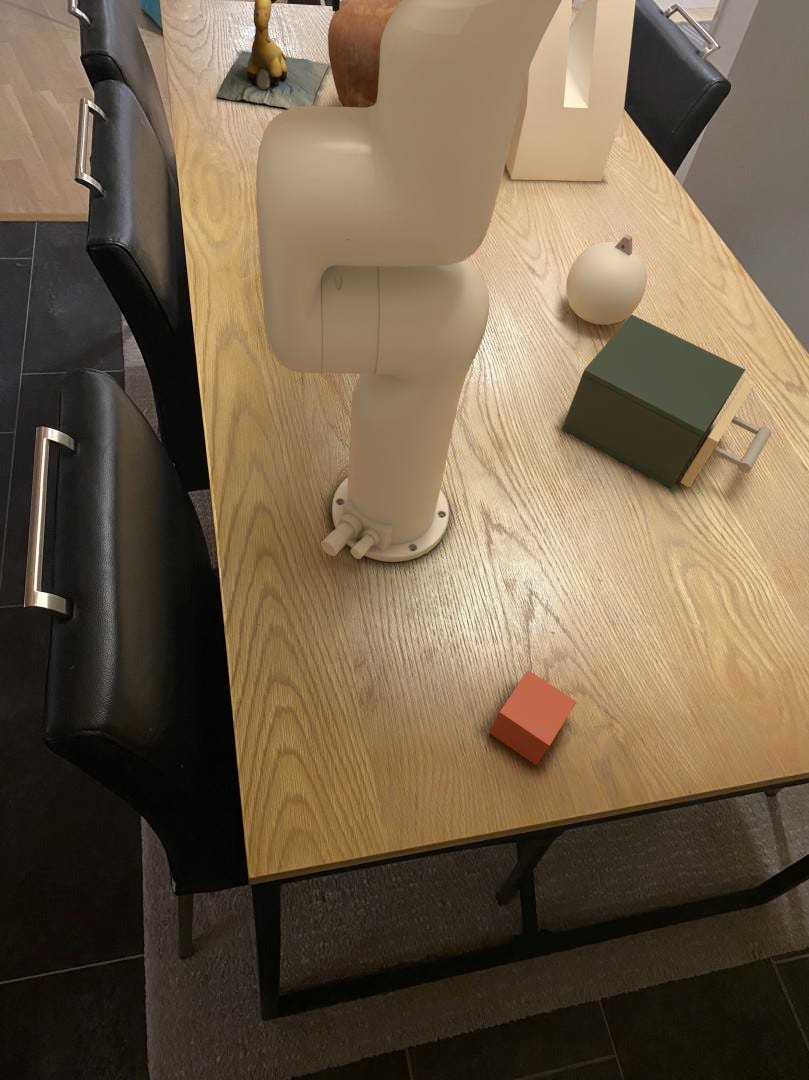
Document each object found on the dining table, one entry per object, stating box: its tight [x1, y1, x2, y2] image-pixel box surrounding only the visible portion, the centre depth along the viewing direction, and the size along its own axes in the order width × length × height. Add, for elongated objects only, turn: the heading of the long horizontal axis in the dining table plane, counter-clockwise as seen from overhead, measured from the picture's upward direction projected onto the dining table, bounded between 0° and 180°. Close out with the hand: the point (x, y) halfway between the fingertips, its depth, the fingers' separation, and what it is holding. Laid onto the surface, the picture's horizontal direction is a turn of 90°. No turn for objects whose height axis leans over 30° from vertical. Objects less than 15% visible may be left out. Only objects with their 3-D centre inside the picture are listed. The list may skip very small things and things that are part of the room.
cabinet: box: [561, 314, 746, 489], centre depth 89 cm, size 15×13×10 cm
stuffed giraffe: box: [215, 0, 329, 110], centre depth 129 cm, size 16×18×16 cm
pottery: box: [327, 0, 401, 108], centre depth 119 cm, size 23×23×25 cm
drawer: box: [680, 379, 772, 488], centre depth 88 cm, size 18×11×8 cm, turn 55°
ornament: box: [565, 234, 648, 326], centre depth 100 cm, size 10×10×12 cm
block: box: [489, 669, 577, 766], centre depth 68 cm, size 5×5×5 cm
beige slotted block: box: [505, 0, 636, 182], centre depth 120 cm, size 19×15×25 cm
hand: (379, 9), depth 82 cm, fingers open, 9 cm apart
